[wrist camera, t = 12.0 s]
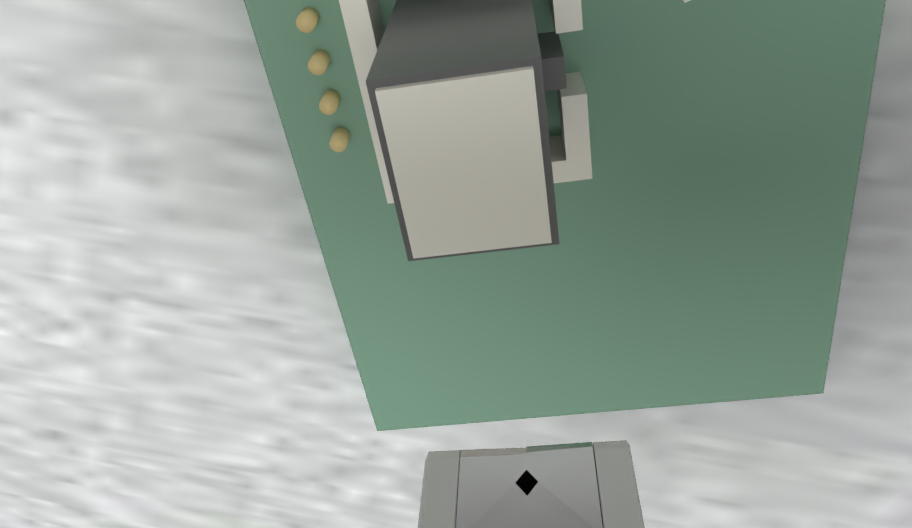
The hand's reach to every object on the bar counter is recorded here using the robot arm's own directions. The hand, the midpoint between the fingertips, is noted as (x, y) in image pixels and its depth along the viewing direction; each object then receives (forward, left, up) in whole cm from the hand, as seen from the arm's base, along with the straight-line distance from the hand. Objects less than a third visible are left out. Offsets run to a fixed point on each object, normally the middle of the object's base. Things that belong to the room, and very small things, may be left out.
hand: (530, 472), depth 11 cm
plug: (+1, -1, -17) cm, 17 cm away
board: (-2, +3, -18) cm, 18 cm away
